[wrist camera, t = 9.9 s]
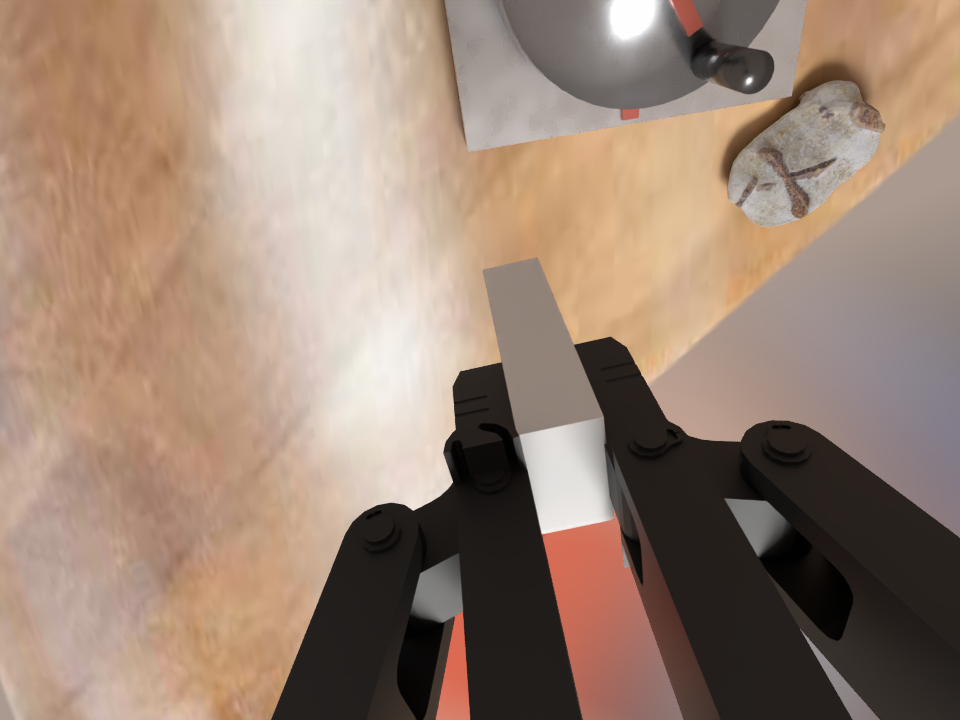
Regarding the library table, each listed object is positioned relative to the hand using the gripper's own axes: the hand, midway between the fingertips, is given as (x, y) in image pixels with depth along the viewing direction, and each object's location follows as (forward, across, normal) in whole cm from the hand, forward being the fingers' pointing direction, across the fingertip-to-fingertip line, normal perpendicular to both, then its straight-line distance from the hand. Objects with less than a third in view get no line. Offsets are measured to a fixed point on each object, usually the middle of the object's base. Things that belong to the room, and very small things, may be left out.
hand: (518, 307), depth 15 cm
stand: (+24, +10, +8) cm, 27 cm away
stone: (+24, +22, -7) cm, 33 cm away
